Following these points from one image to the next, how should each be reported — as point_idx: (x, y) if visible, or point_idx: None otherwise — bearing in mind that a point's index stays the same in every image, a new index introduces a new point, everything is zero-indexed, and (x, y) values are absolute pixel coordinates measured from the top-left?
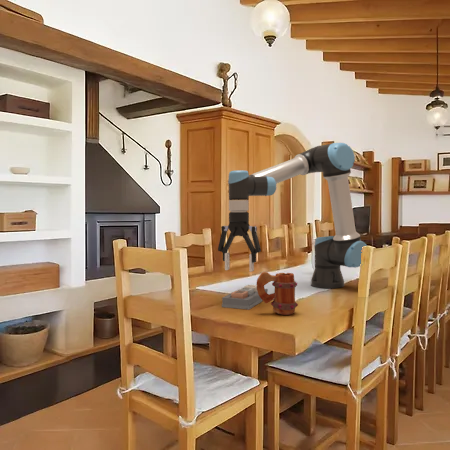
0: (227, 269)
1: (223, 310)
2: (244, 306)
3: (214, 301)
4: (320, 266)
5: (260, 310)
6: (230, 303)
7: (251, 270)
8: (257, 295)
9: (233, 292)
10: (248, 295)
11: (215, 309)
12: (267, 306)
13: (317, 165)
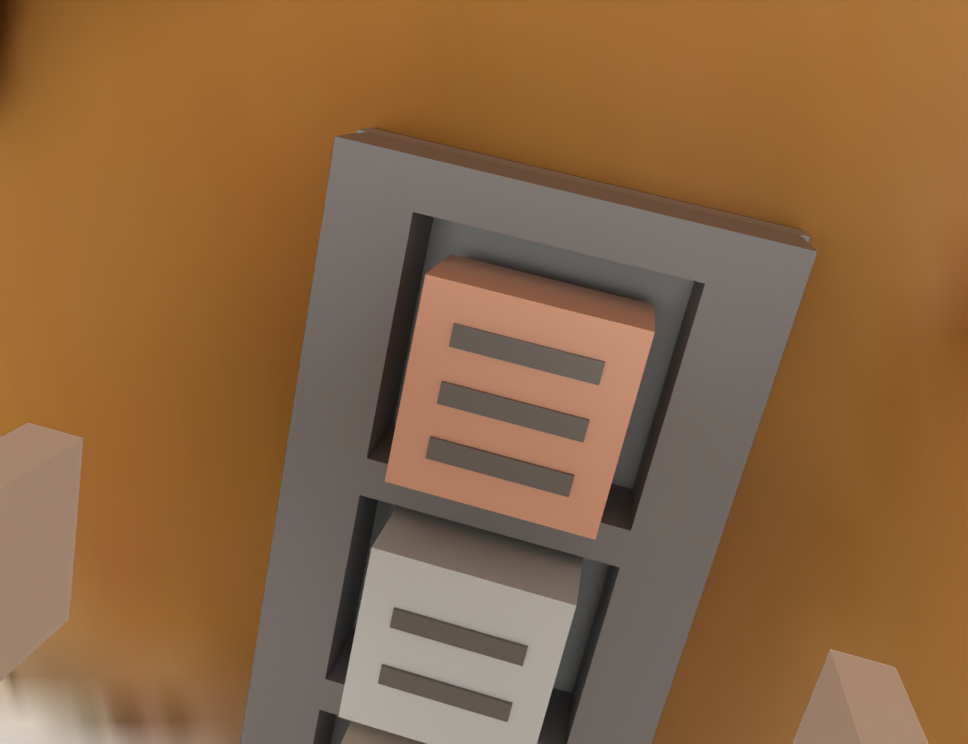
0: (811, 715)
1: (746, 9)
2: (429, 147)
3: (960, 577)
4: None
5: (211, 103)
6: (657, 203)
7: (5, 444)
8: (278, 530)
9: (620, 374)
10: None
11: (890, 56)
12: (171, 345)
13: None
